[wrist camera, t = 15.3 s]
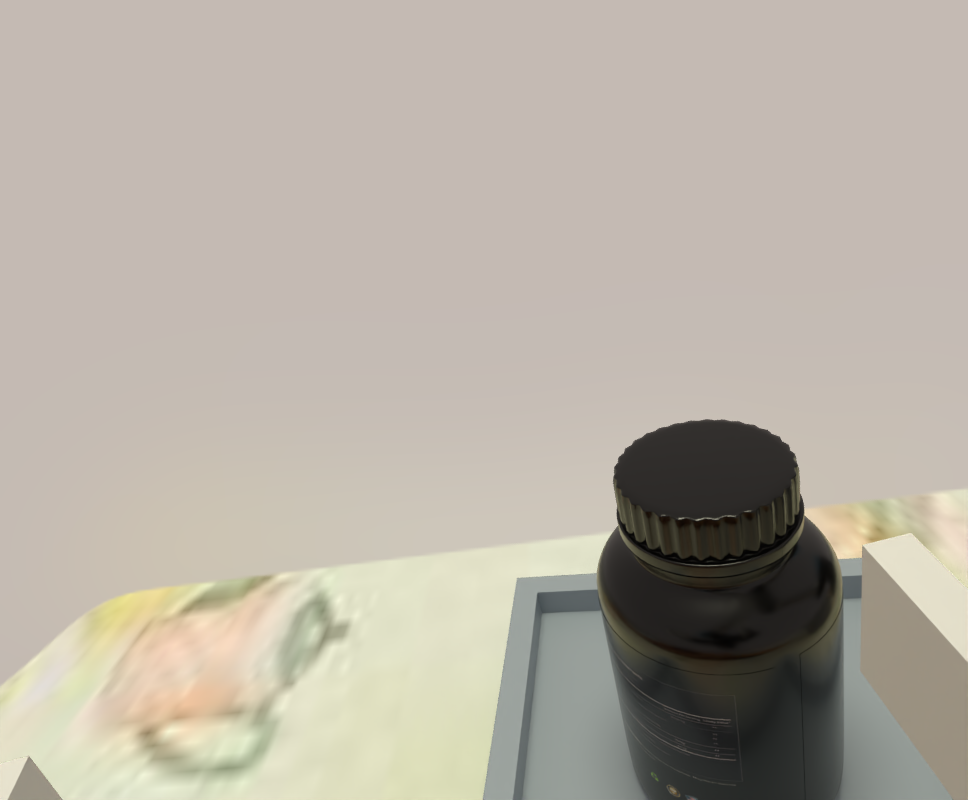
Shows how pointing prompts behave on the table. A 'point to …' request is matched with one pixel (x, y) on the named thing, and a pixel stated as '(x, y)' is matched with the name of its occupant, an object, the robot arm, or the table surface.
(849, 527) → the table surface
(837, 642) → the supplement bottle
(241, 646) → the table surface
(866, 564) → the robot arm
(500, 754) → the tray
